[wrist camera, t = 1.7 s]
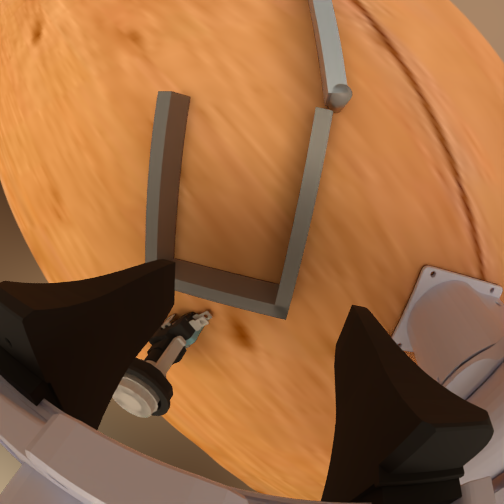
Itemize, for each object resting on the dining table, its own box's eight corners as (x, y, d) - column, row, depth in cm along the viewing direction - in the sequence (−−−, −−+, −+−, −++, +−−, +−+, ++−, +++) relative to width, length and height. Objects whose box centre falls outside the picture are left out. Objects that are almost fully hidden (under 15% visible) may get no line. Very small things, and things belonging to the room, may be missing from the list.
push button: (194, 287, 24) (133, 363, 15) (230, 333, 25) (190, 419, 16) (148, 314, 27) (89, 380, 17) (181, 354, 28) (136, 426, 18)
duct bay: (330, 115, 17) (333, 110, 14) (289, 298, 22) (285, 319, 20) (178, 96, 18) (158, 91, 16) (163, 265, 24) (145, 281, 21)
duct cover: (343, 112, 17) (353, 102, 12) (325, 113, 17) (329, 102, 12) (318, -23, 13) (317, -59, 8) (302, -23, 13) (297, -59, 8)
